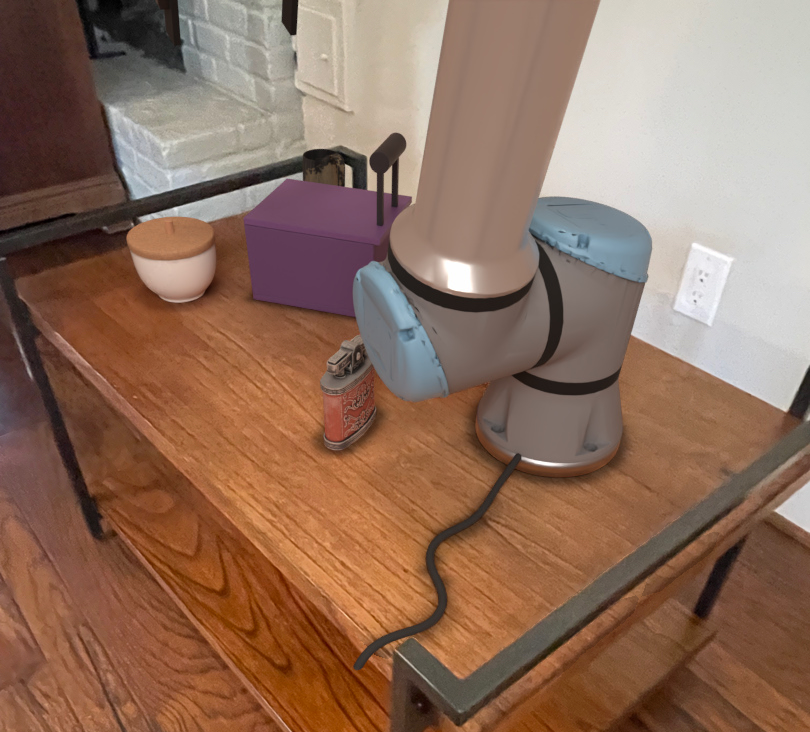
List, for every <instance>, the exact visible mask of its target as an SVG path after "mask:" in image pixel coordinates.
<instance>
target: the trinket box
mask: <svg viewBox="0 0 810 732" xmlns="http://www.w3.org/2000/svg"><path fill="white" fill-rule="evenodd" d="M126 244H127V248H128V249H129V251H130V255H131V256H130V257H131V260H132V263H133V265H134V268H135V271H136V273H137V275H138V277H139V278H140V280H141V281H142V283H143V284H144V286H146V287H147V288H148V289H149V290H150V291H151V292H153V293H154V294H155V295H157V296H158V297H159V298H160V299H162V300H163V301H166V302H169V303H176V304H179V303H181V304H182V303H188V302H192V301H196V300H197V299H200V298H201V297H202V296H204V294H205V293H206V291H207V289H208V288H209V287H210V285H211V283H213V280H214V277H215V275H216V271H217V261H218V260H217V259H218V258H217V247H216V234H215V230H214V228H213V226H211V224H210V223H208V222H206V221H204V220H201V219H199V218H195V217H189V216H163V217H156V218H152V219H148V220H147V221H143V222H140V223H139V224H137V225H135V226H133V227H132V228H131V229H130V230H129V231H128V232H127V234H126Z"/></svg>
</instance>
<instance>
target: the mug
mask: <svg viewBox="0 0 810 732" xmlns="http://www.w3.org/2000/svg"><path fill="white" fill-rule="evenodd" d="M302 181H308V182H315V183H322V184H328V185H335V186H342V187H346V163H345V159H344V157H343V156H342V155H341V154H339V153H338V152H337V151H335V150H333V149H327V148H313V149H309V150H306V151H305V152H303V154H302Z"/></svg>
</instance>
